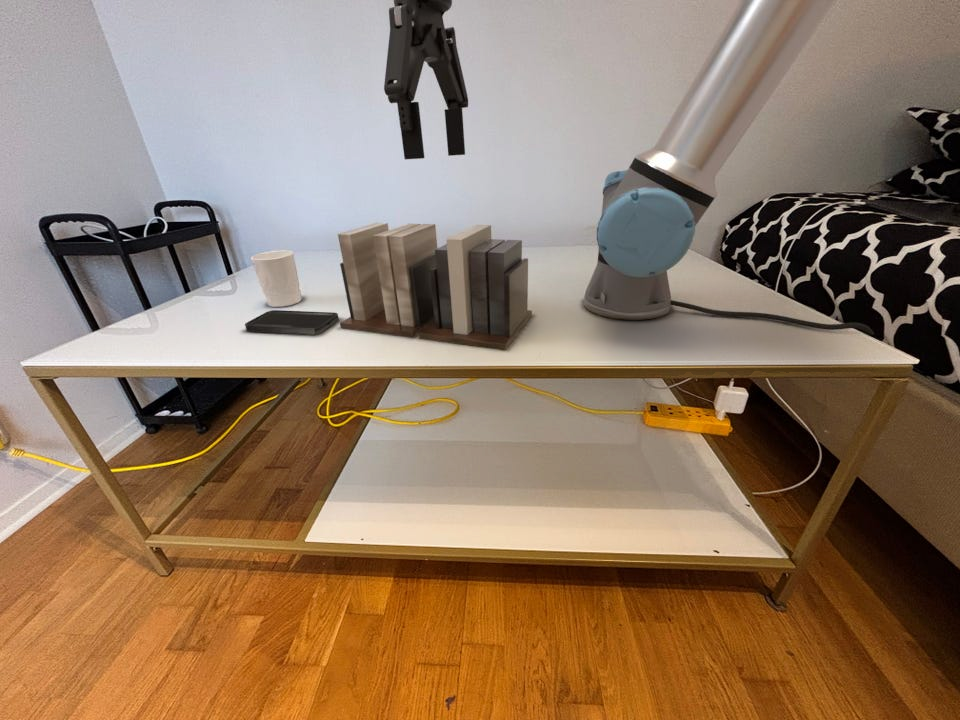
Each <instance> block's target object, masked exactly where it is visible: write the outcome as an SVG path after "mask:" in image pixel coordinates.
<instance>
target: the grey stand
mask: <svg viewBox="0 0 960 720" xmlns="http://www.w3.org/2000/svg"><path fill="white" fill-rule="evenodd" d="M435 258H436V266H435V267H433V268H432V269H430V278H431V288H432V298H433V308H434V318H435V321H434V322H432V323H431V324H430V325H429V326H427V327H426V328H425V329H423V330H422V331H421V332H420V333H419V334H418V338H419V340H421V339H422V340H429V341H436V342H442V343H451V344H457V345H466V346H473V347H478V348H479V347H480V348H487V349H493V350H501V351H506V350H507V349H508V347H509V346H510V345H511V343H512V342H513V341H514V340H515V338H516V337H517V335H519V333H520V332H521V330H522V329H523V328H524V326H525V325H526V323H527V322H528V321H529V320H530V318H531V317H532V315H533V310H531V309H528V306H529V304H528V300H529V299H528V297H529V296H528V295H529V258H526V257H523V240H522V239H506V240H505V239H499V238H497V239H496V238H491V239H490V240H488V241H487V242H485V243H483V244H481V245H480V246H478V247H476V248H475V249H473V250H471V251H470V270H471V289H472V308H473V326H474V329H473V330H472V331H471V332H470V333H469V334H468V335H463V334H455V333H454V330H453V317H452V305H451V292H450V279H449V266H448V253H447V243H445V244H444V245H442V246H439V247H437V249H435Z"/></svg>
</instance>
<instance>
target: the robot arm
mask: <svg viewBox="0 0 960 720" xmlns="http://www.w3.org/2000/svg"><path fill="white" fill-rule="evenodd" d="M836 2H837V0H739V2H738V4H737V5H736V6H735V8H734V10H733V12H732V14H731V15H730V16H729V19H728V20H727V22H726V24H725V25H724V26H723V29H722V30H721V32H720V34H719V35H718V37H717V39H716V41H715V43H714V44H713V46H712V48H711V49H710V51H709V52H708V55H707V57H706V58H705V59H704V61H703V63H702V64H701V66H700V68H699V70H698V72H697V73H696V75H695V77H694V79H693V80H692V82H691V83H690V85H689V87H688V89H687V91H686V92H685V94H684V95H683V97H682V99H681V100H680V102H679V104H678V105H677V107H676V108H675V111H674V112H673V114H672V116H671V117H670V119H669V121H668V123H667V124H666V126H665V127H664V130H663V131H662V132H661V135H660V137H659V138H658V140H657V142H656V143H655V145H654V146H653V147H651V148H650V149H647V150H645V151H643V152H640V153H638V154H636V155H635V156H634V158H633V159H632V162H631V164H630V165H629V167H628V168H627V169H625V170H616V171H612V172H610V173H608V174H607V175H606V177H605V180H604V185H603V188H602V197H603V198H602V207H601V215H600V217H599V220H598V222H597V225H598V226H597V228H596V242H597V243H596V244H597V247H598V251H597V252H598V253H597V263H596V266H595V268H594V271H593V273H592V276H591V278H590V280H589V281H588V282H589V283H588V285H587V286H586V290H585V293H584V298H583V306H584V308H586V309H587V310H588V311H590V312H592V313H594V314H596V315H599V316H603V317H606V318H609V319H616V320H625V321H626V320H627V321H644V320H653V319H657V318H660V317H663V316H664V315H665V316H666V315H667V314H668V313H669V312H670V310H671V306H674V307H678V308H682V309H686V310H687V309H688V310H692V311H696V312H699V313H703V314H704V313H705V314H707V315H713V316H721V317H732V318H734V317H735V318H737V317H738V318H754V319H755V318H756V319H764V320H765V319H766V320H771V321H779V322H783V323H789V324H793V325H797V326H802V327H807V328H812V329H819V330H827V331H838V330H847V329H858V330H860V331H862V332H863V333H864V334H865V335H873V336H874V335H875V332H874V331H873V329H871V327H870V326H868V325H866V324H864V323H860V322H843V323H834V324H833V323H832V324H830V323H820V322H815V321H809V320H805V319H800V318H799V319H798V318H794V317H789V316H785V315H778V314H773V313H765V312H764V313H763V312H755V311H754V312H753V311H731V310H730V311H728V310H718V309H712V308H707V307H703V306H699V305H696V304H691V303H688V302H687V303H686V302H682V301H677V300H673V299H672V294H671V288H670V282H669V275H668V271H669V270H670V269H672V268H673V267H675V266H676V265H677V264H679V262H680V261H681V260H682V259H683V258H684V257H685V255H686V254H687V253H688V251H689V249H690V247H691V245H692V243H693V239H694V236H695V233H696V226H697V224H698V223H699V222H700V220H701V219H702V217H703V216H704V214H705V213H706V212H707V210H708V209H709V207H710V206H711V204H712V203H714V200H716V197H717V195H718V194H717V189H716V181H715V179H716V176H717V175H718V173H719V172H720V170H721V169H722V167H723V166H724V165H725V163H726V162H727V160H729V159H728V158H729V157H730V156H731V154H732V153H733V152H734V150H735V149H736V147H737V146H738V145H739V142H740V141H741V139H742V138H743V137H744V135H745V134H746V133H747V131H748V130H749V128H750V127H751V126H752V124H753V122H754V121H755V119H756V118H757V117H758V115H759V113H760V112H761V111H762V109H763V108H764V106H765V105H766V103H767V102H768V100H769V99H770V97H771V96H772V95H773V93H774V92H775V90H776V89H777V87H778V86H779V84H780V83H781V81H782V80H783V79H784V77H785V76H786V74H787V73H788V71H790V68H791V67H792V65H793V64H794V63H795V61H796V60H797V58H798V57H799V55H800V54H801V53H802V51H803V50H804V48H805V47H806V45H808V44H807V43H808V42H809V40H810V39H811V38H812V36H813V35H814V34H815V33H816V31H817V29H818V28H819V26H820V25H821V23H822V22H823V20H824V19H825V17H826V16H827V15H828V13H829V12H830V10H831V9H832V8H833V6H834V5H835V3H836ZM393 5H394V6H392V7H389V8H388V19H389V36H388V37H389V38H388V46H387V47H388V48H387V57H386V66H385V75H384V83H383V84H384V85H383V91H384V94H385V95H386V96H387V100H388V102H389V104H397V105H396V106H397V112H398V120H399V127H400V134H401V141H402V151H403V158H404V160H419V159H425V150H424V141H423V132H422V131H423V130H422V121H421V112H420V111H421V110H420V103H419V101H414V100H415V96H416V93H417V90H418V86H419V82H420V78H421V75H422V71H423V67H424V64H425V63H427V66H428V67H429V68H431V69H432V71H433V73H434V76H435V78H436V81H437V84H438V87H439V89H440V92H441V94H442V97H443V100H444V102H445V105H446V107H447V108H446V109H445V108H444V120H445V131H446V133H445V134H446V142H447V143H446V145H447V156H448V157H449V156H464V155H466V146H465V131H464V117H463V116H464V115H463V114H464V113H463V109H465V108H469V97H468V96H469V95H468V92H467V88H466V83H465V78H464V74H463V70H462V69H463V68H462V65H461V61H460V56H459V51H458V47H457V46H458V45H457V37H456V29H455V28H454V26H451V27H445V24H444V19H443V16H444V14H445V13H446V12H448V11H449V10H451V8H452V5H453V0H393ZM395 81H396V82H395Z"/></svg>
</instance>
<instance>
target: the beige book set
mask: <svg viewBox="0 0 960 720" xmlns="http://www.w3.org/2000/svg"><path fill="white" fill-rule="evenodd" d="M436 227H437V226H436V223H407V224H403V225H400V226H397V227H395V228H391V229H389V223H388V222H375V223H371V224H368V225H364V226H360V227H357V228H354V229H350V230H347V231H344V232H340V233H337V238H338V242H339V247H340V252H341V258H342V262H340V264H339V267H340V270H341V276H342V280H343V286H344V290H345V295H346V300H347V305H348V311H349V315H350V316H349V317H347V318H346V319H344V320H342V321H340V322H339V325H340V329H344V330H345V329H346V330H352V331H353V330H355V331H360V332H369V333H375V334H376V333H377V334H383V335H389V336H390V335H391V336H397V337H398V336H399V337H406V338H411V339H413V338H414V339H415V338H416V337H417V336H419V333H420V332H421V331H422V330H423V329H425V328H426V327H427V326H429V325H430V324H431V323H432V322H434V321H435V318H434V308H433V298H432V288H431V278H430V269H432V268H433V267H435V266H436V258H435V249H437V248H438V238H437V229H436Z"/></svg>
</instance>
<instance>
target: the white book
mask: <svg viewBox="0 0 960 720" xmlns="http://www.w3.org/2000/svg"><path fill="white" fill-rule="evenodd" d="M490 239H492V225H491V224H475V225H473V226H472V227H469V228H467V229H464V230H463V231H460V232H459V233H457V234H454V235H452V236H449V237H447V238H446V240H445V241H446V244H447V253H448V266H449V279H450V292H451V305H452V317H453V330H454V333H455V334H463V335H468V334H469V333H470V332H471V331H472V330H473V329H474V326H473V308H472V289H471V270H470V251H471V250H473V249H475V248H476V247H478V246H480V245H481V244H483V243H485V242H487V241H488V240H490Z"/></svg>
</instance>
